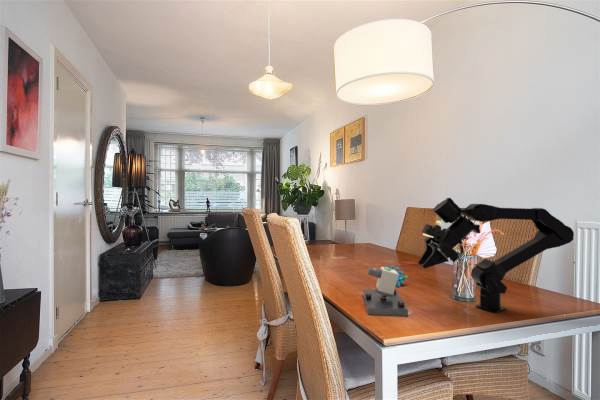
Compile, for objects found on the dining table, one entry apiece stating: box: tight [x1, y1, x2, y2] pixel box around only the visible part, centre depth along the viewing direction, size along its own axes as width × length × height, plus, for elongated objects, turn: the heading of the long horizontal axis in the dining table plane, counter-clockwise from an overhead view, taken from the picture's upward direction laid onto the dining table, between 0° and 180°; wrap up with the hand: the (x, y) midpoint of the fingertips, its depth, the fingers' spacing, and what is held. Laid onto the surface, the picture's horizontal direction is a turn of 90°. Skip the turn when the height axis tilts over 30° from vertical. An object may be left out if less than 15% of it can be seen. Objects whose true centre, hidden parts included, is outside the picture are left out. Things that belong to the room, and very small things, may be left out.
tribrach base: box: [362, 288, 409, 317], centre depth 106 cm, size 12×20×3 cm, turn 173°
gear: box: [385, 265, 408, 287], centre depth 132 cm, size 11×6×10 cm
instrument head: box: [367, 266, 400, 297], centre depth 107 cm, size 10×6×9 cm, turn 83°
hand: (421, 265), depth 105 cm, fingers open, 5 cm apart
